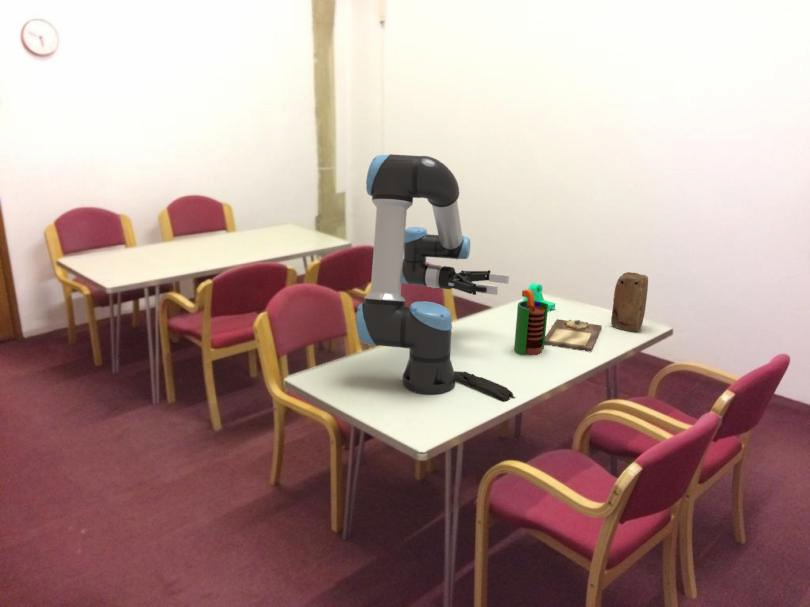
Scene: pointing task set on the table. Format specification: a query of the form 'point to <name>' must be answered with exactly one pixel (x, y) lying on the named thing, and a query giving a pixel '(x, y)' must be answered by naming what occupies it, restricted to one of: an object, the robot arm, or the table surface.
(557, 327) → the mounting board
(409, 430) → the table surface
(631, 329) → the block
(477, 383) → the wood
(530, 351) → the motor
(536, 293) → the camera mount
